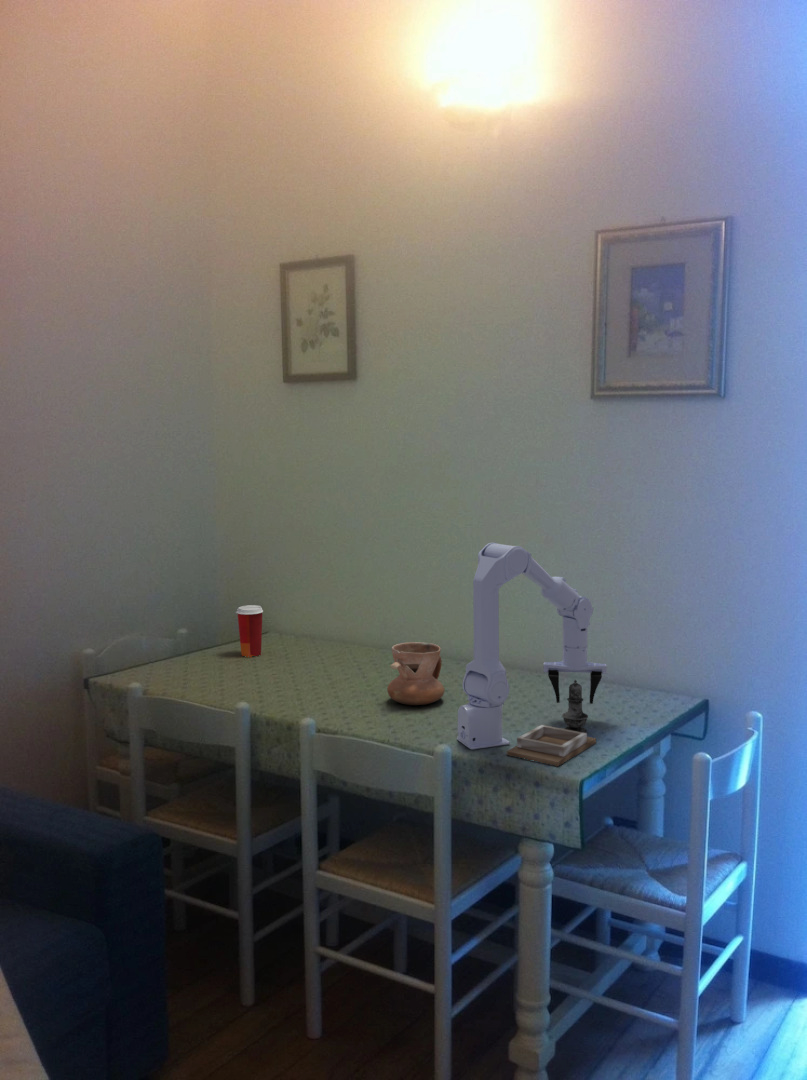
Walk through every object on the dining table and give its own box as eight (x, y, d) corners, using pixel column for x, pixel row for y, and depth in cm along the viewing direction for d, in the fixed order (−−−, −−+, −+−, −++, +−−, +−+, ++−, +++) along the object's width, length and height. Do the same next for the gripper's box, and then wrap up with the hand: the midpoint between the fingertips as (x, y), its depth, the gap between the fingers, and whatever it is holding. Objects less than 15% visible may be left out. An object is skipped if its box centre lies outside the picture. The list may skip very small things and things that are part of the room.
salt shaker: (559, 727, 223) (559, 676, 221) (584, 726, 223) (584, 675, 222) (565, 735, 217) (565, 683, 215) (591, 734, 217) (591, 682, 216)
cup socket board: (557, 766, 197) (558, 752, 197) (506, 755, 204) (506, 741, 204) (595, 742, 211) (596, 729, 211) (547, 733, 219) (547, 720, 218)
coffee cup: (265, 651, 302) (264, 604, 301) (263, 657, 294) (262, 609, 293) (238, 652, 302) (237, 605, 300) (236, 658, 294) (234, 610, 292)
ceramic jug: (413, 714, 234) (414, 657, 233) (372, 702, 245) (372, 647, 243) (461, 700, 247) (462, 645, 246) (420, 689, 257) (421, 637, 256)
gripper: (605, 642, 228) (605, 698, 230) (543, 641, 231) (543, 696, 232) (607, 649, 222) (606, 706, 223) (543, 647, 224) (543, 704, 225)
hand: (574, 702), depth 227 cm, fingers open, 7 cm apart
